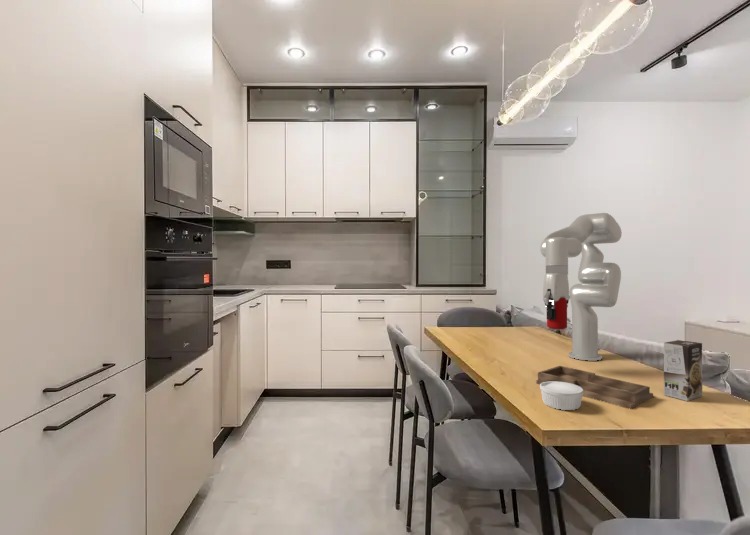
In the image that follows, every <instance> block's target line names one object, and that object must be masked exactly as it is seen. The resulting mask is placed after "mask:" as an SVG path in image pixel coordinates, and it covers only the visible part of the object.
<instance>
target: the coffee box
mask: <svg viewBox="0 0 750 535" xmlns="http://www.w3.org/2000/svg"><path fill="white" fill-rule="evenodd" d="M663 396H668V397H671V398H675V399H678V400H681V401H685V402H689V401H693V400H695V399H698V398H701V397H703V343H702V342H696V341H691V340H690V341H688V340H679V339H677V340H676V339H675V340H672V341H666V342H663Z"/></svg>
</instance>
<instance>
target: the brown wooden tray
mask: <svg viewBox="0 0 750 535" xmlns="http://www.w3.org/2000/svg"><path fill="white" fill-rule="evenodd" d="M535 381H536V384H537V385H540V384H541V383H543V382H549V381H557V382H566V383H571V384H575V385H577V386H579V387H581V388H582V389H583V395H582V397H585V396H586V398H589V397H590V398H589V399H592V398H594V399H593V400H596V399H597V400H596V401H600V400H601V401H600V402H603V401H605V402H604V403H607V402H608V404H611V403H612V404H611V405H614V404H615V406H618V405H619V407H623V408H625V407H626V408H627V409H629V408H630V409H629V410H631V408H632V409H634V408H635V407H637V406H638V404H639V405H641V404H642V402H643V403H644V402H646V401H648V400H650V399H651V398H653V397H654V393H653V392H651V390H650V386H648V385H643V384H639V383H634V382H630V381H625V380H620V379H616V378H611V377H606V376H602V375H597V374H596V372H595V373H594V372H590V371H586V370H582V369H577V368H574V367H573V368H572V367H568V366H563V365H558V366H554V367H552V368H548V369H545V370H541V371H538V372H537V380H535ZM640 403H641V404H640ZM636 405H637V406H636Z"/></svg>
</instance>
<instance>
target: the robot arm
mask: <svg viewBox="0 0 750 535" xmlns="http://www.w3.org/2000/svg"><path fill="white" fill-rule="evenodd" d="M621 239H622V229H621V225H620V224H619V223H618V222H617V221H616V219H615V218H614V216H613V215H611V214H609V213H607V212H599V213H597V212H596V213H588V214H583V215H579V216H578V217H576V218H575V219H574V221H573V222H572V223H571V224H570V225H569V226H566V227H563V228H561V229H558V230H556V231H553V232H551V233H549V234H548V235H546V236H545V238H543V240H542V242H541V243H540V253H541V255H542V257H544V258H545V274H544V280H543V288H542V290H543V292H542V301H543V302H544V305H545V309H546V320H547V319H549V320H556V309H554V308H555V304H556V302H557V301H559V299H560V298H561V297H565V299H566V300H567V308H569V307H568V306H569V301H570V304H571V305H570V306H571V319H572V320H571V326H572V327H571V328H572V329H571V334H572V336H571V337H572V338H571V341H572V343H571V344H572V349H571V350H572V351H570V352H568V355H569V356H568V357H569V358H571V359H574V358H575V359H574V360H578V359H579V361H585V360H588V362H589V361H590V362H596V361H597V360H599V361H601V359H602V360H603V356H602V355H601V354H599V351H601V346H599V340H598V339H599V334H598V333H599V327H598V325H599V324H598V323H599V321H598V320H599V319H598V318H599V317H598V315H597V313H596V311H595V310H594V309H593V308H592V307H596V308H613V307H614V306H615V305H616V304H617V302H618V297H619V290H620V285H621V282H622V281H621V279H622V270H621V267H620V265H619V264H617V263H615V262H604V259H605V258H604V256H605V255H604V254H603V252H602V251H601V249H599V248H598V247H597V246H596V245H599V244H615V243H618V242H619V241H620V240H621ZM580 254H581V258H580V263H579V267H578V272H577V279H578V281H579V282H580V283H575V284H573V285H572V286H570V285H569V284H570V283H569V276H568V275H569V258H575V257H578V256H579V255H580ZM550 299H553V300H550ZM551 302H553V303H552V304H551ZM597 362H598V361H597Z"/></svg>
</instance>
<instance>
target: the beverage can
mask: <svg viewBox="0 0 750 535" xmlns="http://www.w3.org/2000/svg"><path fill="white" fill-rule="evenodd" d="M550 300H553V299H550ZM552 303H553V302H551V304H552ZM554 309H556V320H549V319H547V318H546V326H547V328H549V329H551V330H559V331H563V330H565V329H567V327H568V307H567V300H566V299H565V297H561V298H560V299H559V301H557V302H556V304H555V308H554Z"/></svg>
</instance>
